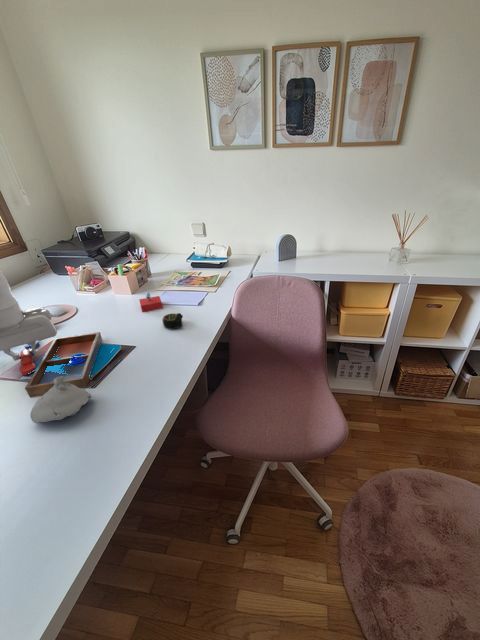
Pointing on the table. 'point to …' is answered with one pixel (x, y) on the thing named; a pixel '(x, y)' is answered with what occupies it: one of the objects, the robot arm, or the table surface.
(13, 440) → the table surface
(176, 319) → the tape measure
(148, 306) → the red rectangular block
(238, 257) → the table surface
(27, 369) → the red spoon
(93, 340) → the sorting tray
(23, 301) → the table surface
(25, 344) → the blue elongated piece
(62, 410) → the grey clay mound
